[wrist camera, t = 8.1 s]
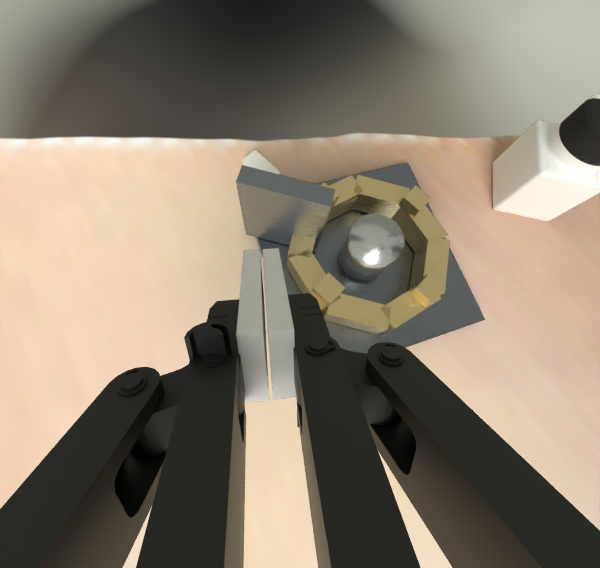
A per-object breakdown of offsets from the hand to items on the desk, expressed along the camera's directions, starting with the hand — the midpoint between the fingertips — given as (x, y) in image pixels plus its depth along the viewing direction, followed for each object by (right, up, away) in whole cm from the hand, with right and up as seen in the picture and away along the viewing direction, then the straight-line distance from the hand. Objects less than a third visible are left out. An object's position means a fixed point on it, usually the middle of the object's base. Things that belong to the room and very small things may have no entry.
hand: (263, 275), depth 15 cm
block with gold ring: (+6, +3, +17) cm, 18 cm away
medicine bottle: (+29, +11, +23) cm, 39 cm away
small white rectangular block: (-3, +12, +20) cm, 24 cm away
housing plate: (+8, +2, +18) cm, 20 cm away
